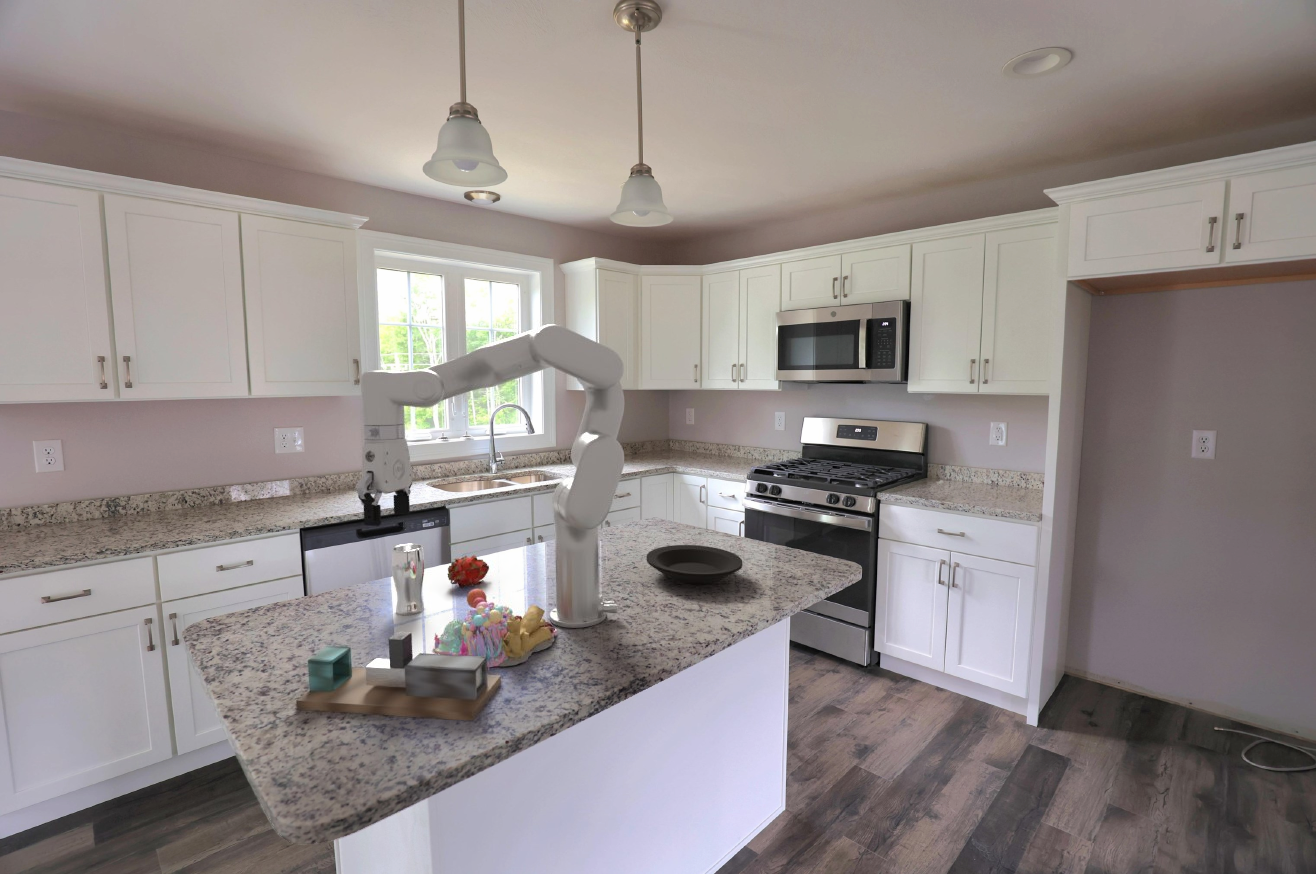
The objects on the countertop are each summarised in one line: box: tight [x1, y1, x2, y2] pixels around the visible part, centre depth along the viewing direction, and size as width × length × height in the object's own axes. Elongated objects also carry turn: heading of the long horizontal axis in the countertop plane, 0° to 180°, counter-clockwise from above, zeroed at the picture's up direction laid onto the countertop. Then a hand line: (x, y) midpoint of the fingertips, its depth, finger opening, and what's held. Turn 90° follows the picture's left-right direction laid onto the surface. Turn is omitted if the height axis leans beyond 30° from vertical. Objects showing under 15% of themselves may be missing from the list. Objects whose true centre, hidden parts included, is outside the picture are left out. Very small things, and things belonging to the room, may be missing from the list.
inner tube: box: [364, 631, 482, 688], centre depth 104 cm, size 19×3×8 cm, turn 83°
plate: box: [646, 544, 744, 586], centre depth 166 cm, size 28×24×6 cm
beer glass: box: [391, 543, 425, 616], centre depth 143 cm, size 7×7×15 cm
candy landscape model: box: [432, 588, 558, 671], centre depth 126 cm, size 25×24×9 cm
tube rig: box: [295, 645, 502, 722], centre depth 105 cm, size 30×12×7 cm, turn 83°
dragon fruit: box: [447, 555, 490, 588], centre depth 162 cm, size 8×8×12 cm
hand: (388, 519), depth 123 cm, fingers open, 9 cm apart
